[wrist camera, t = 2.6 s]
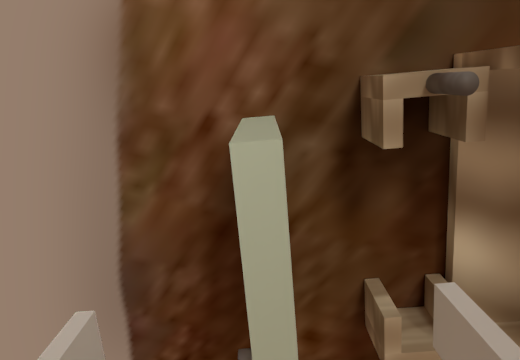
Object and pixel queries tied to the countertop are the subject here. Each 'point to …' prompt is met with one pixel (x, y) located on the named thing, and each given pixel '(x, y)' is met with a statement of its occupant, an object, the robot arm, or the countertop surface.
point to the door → (264, 239)
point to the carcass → (457, 191)
